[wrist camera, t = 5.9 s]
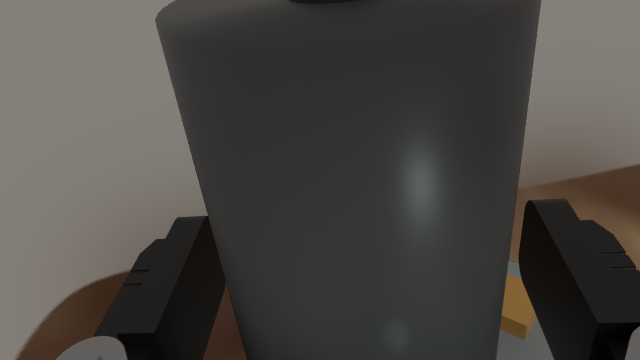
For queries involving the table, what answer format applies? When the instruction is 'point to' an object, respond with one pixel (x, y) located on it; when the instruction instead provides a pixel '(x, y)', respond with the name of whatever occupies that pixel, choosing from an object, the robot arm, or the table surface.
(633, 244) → the table surface
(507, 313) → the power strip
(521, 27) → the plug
